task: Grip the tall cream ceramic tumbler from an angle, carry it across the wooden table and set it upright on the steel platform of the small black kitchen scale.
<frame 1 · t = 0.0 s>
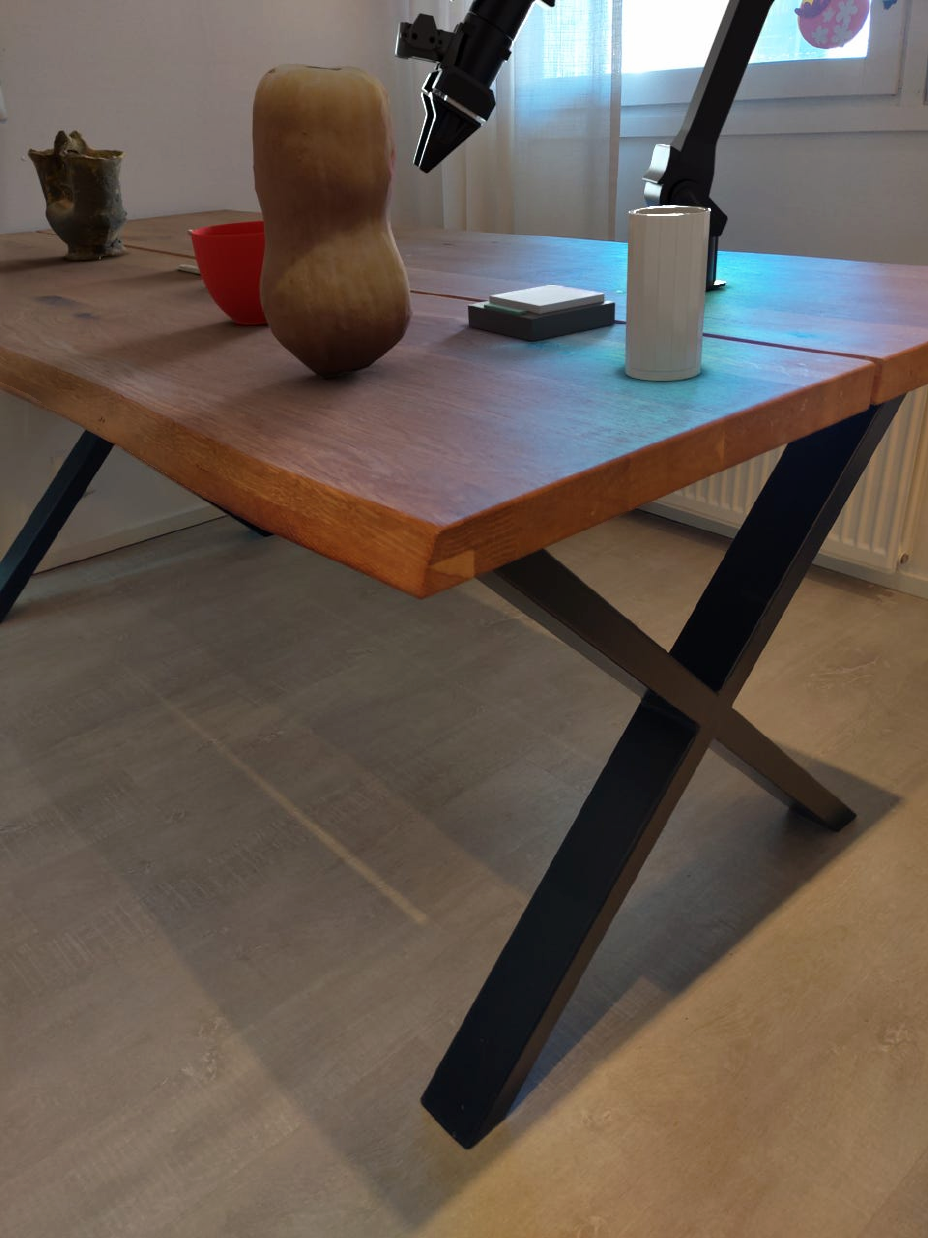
hand: (419, 168, 112), 15 cm above the table, tool tilted 35°, fingers open, 9 cm apart
pottery vessel: (94, 257, 175), on the table
butternut squash: (342, 373, 93), on the table
scale: (540, 324, 107), on the table
ceramic cup: (253, 318, 118), on the table
tumbler: (662, 371, 87), on the table
tableware set: (274, 270, 151), on the table
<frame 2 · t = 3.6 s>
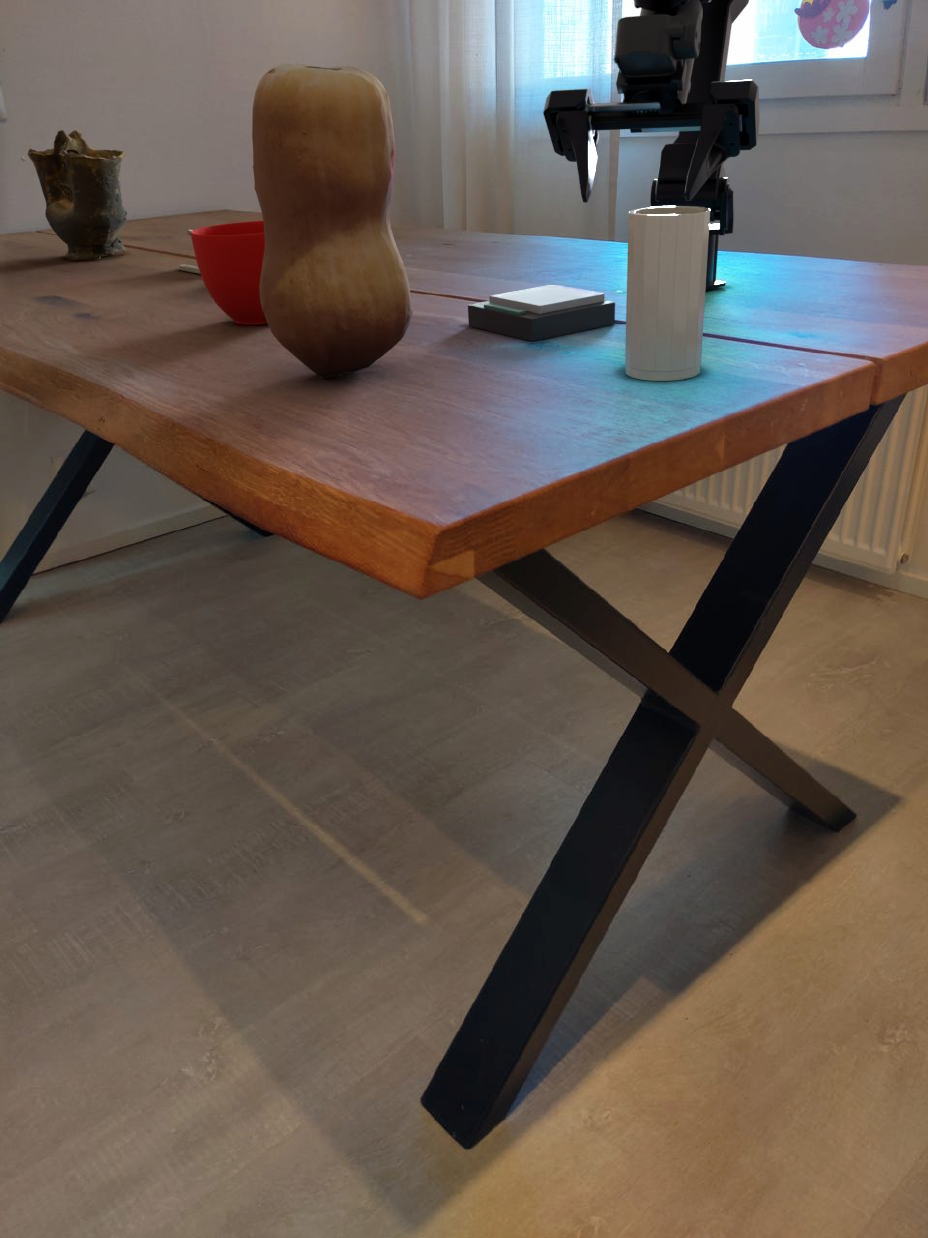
hand: (634, 198, 89), 13 cm above the table, tool tilted 45°, fingers open, 9 cm apart
nothing on the table moved.
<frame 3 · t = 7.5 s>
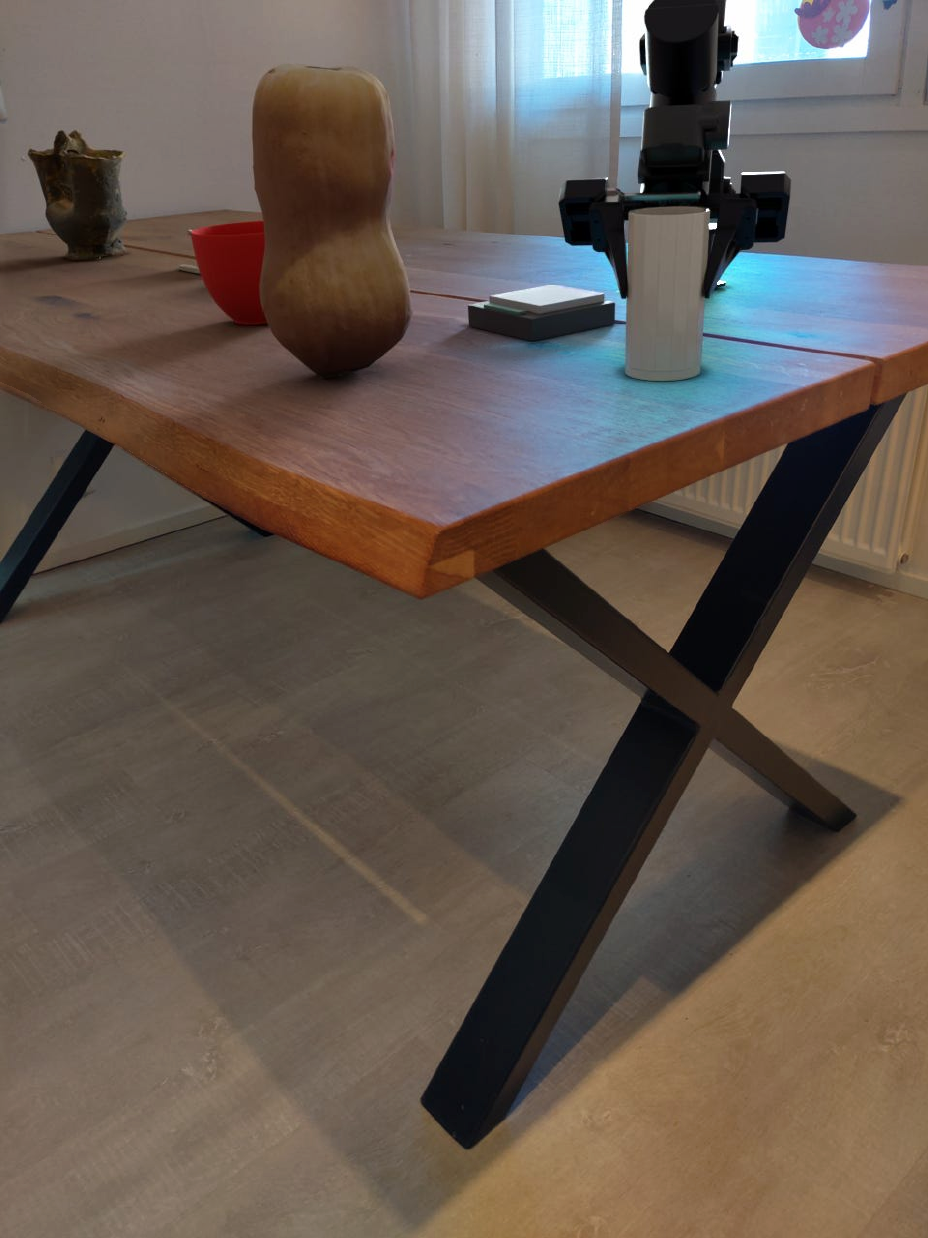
hand: (664, 295, 83), 7 cm above the table, tool tilted 45°, fingers closed on tumbler, 6 cm apart
tumbler: (662, 371, 87), on the table, touching gripper
everything else where it was.
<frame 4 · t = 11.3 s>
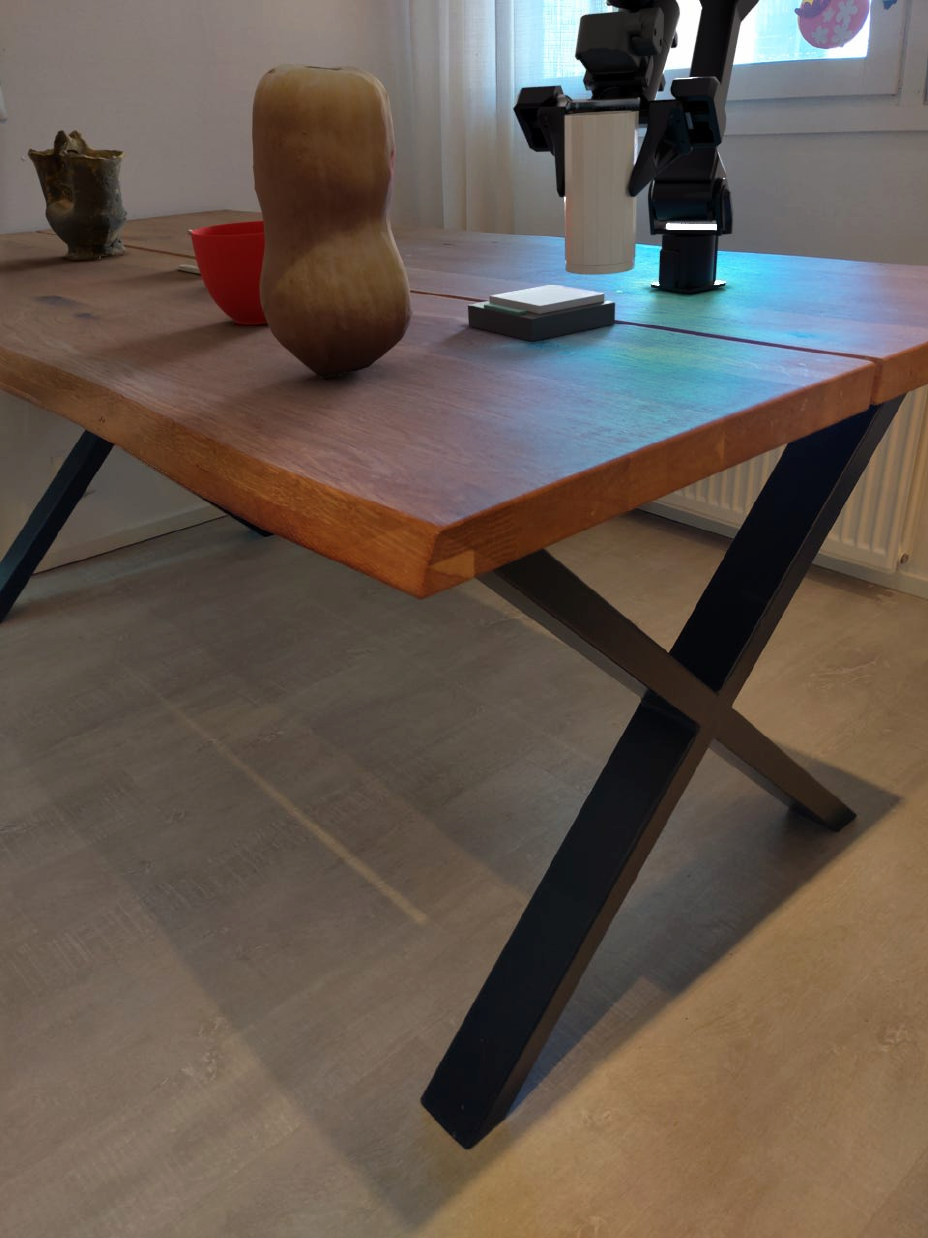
hand: (594, 193, 90), 14 cm above the table, tool tilted 45°, fingers closed on tumbler, 6 cm apart
tumbler: (599, 268, 94), point 7 cm above the table, touching gripper
everything else where it was.
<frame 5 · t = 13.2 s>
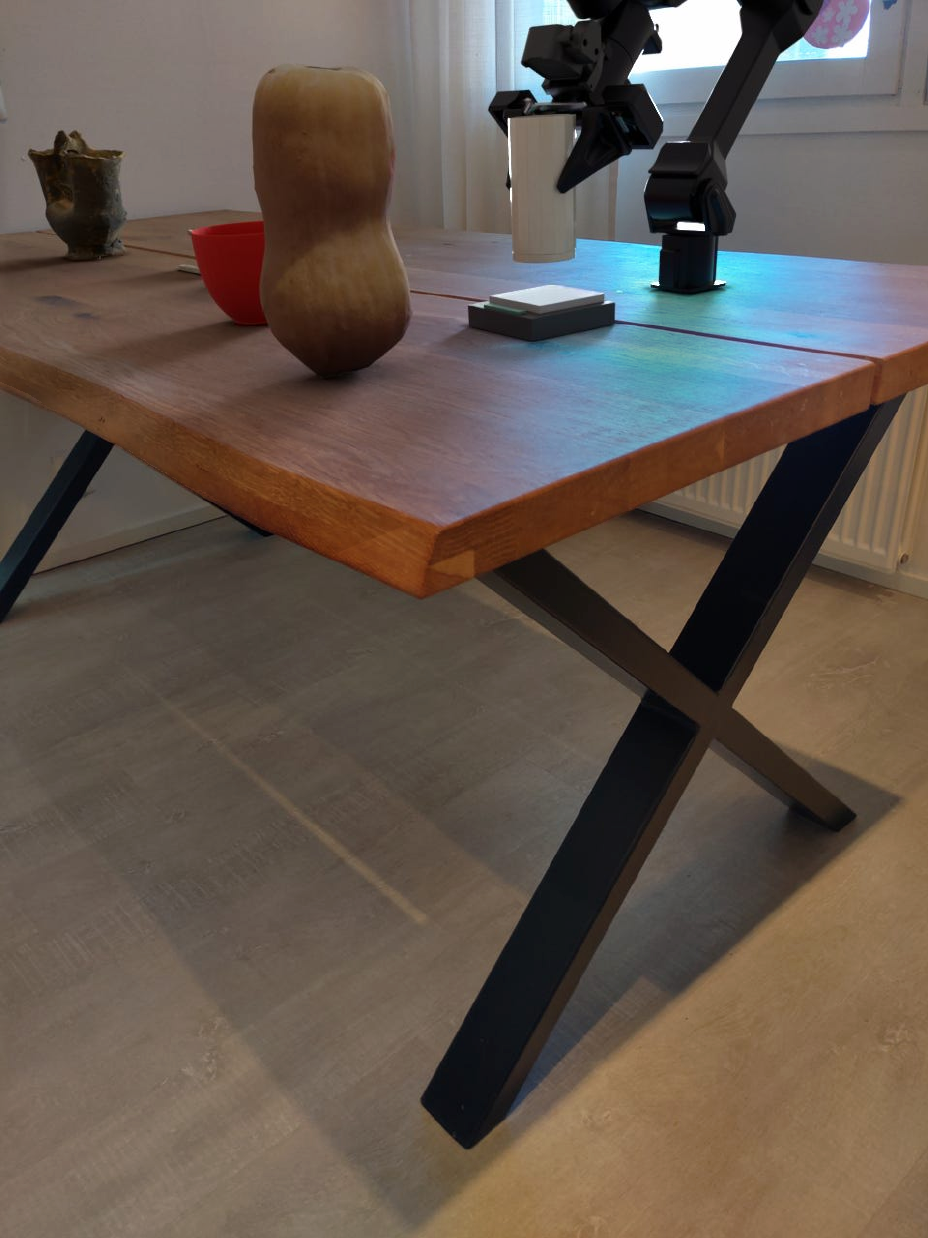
hand: (533, 189, 99), 13 cm above the table, tool tilted 45°, fingers closed on tumbler, 6 cm apart
tumbler: (544, 258, 103), point 7 cm above the table, touching gripper
everything else where it was.
when the fingers open (10 cm above the table, at t = 15.2 s): tumbler stays where it is, resting on scale.
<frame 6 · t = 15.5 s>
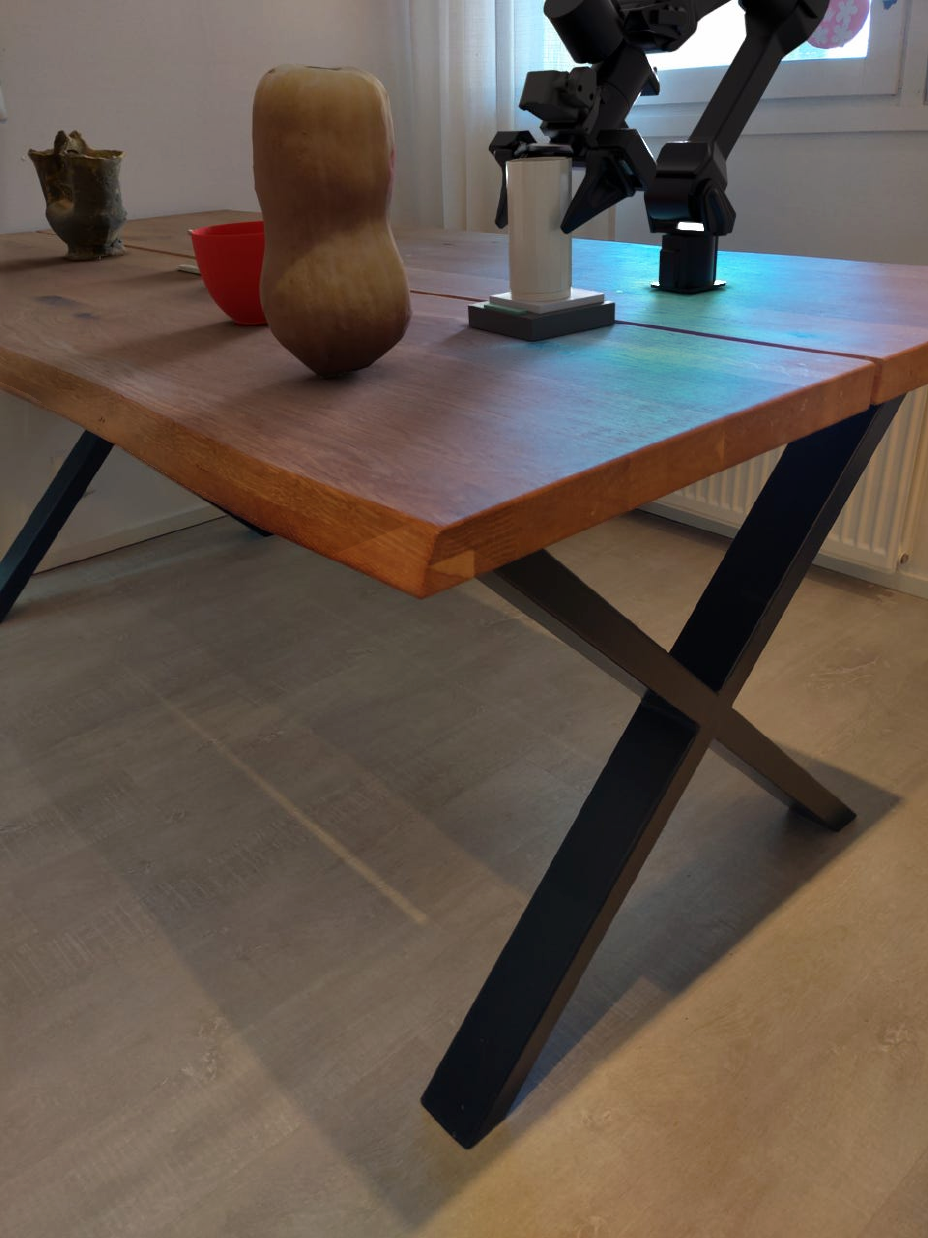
hand: (529, 228, 101), 10 cm above the table, tool tilted 45°, fingers open, 9 cm apart
tumbler: (540, 295, 105), point 3 cm above the table, touching scale
everything else where it was.
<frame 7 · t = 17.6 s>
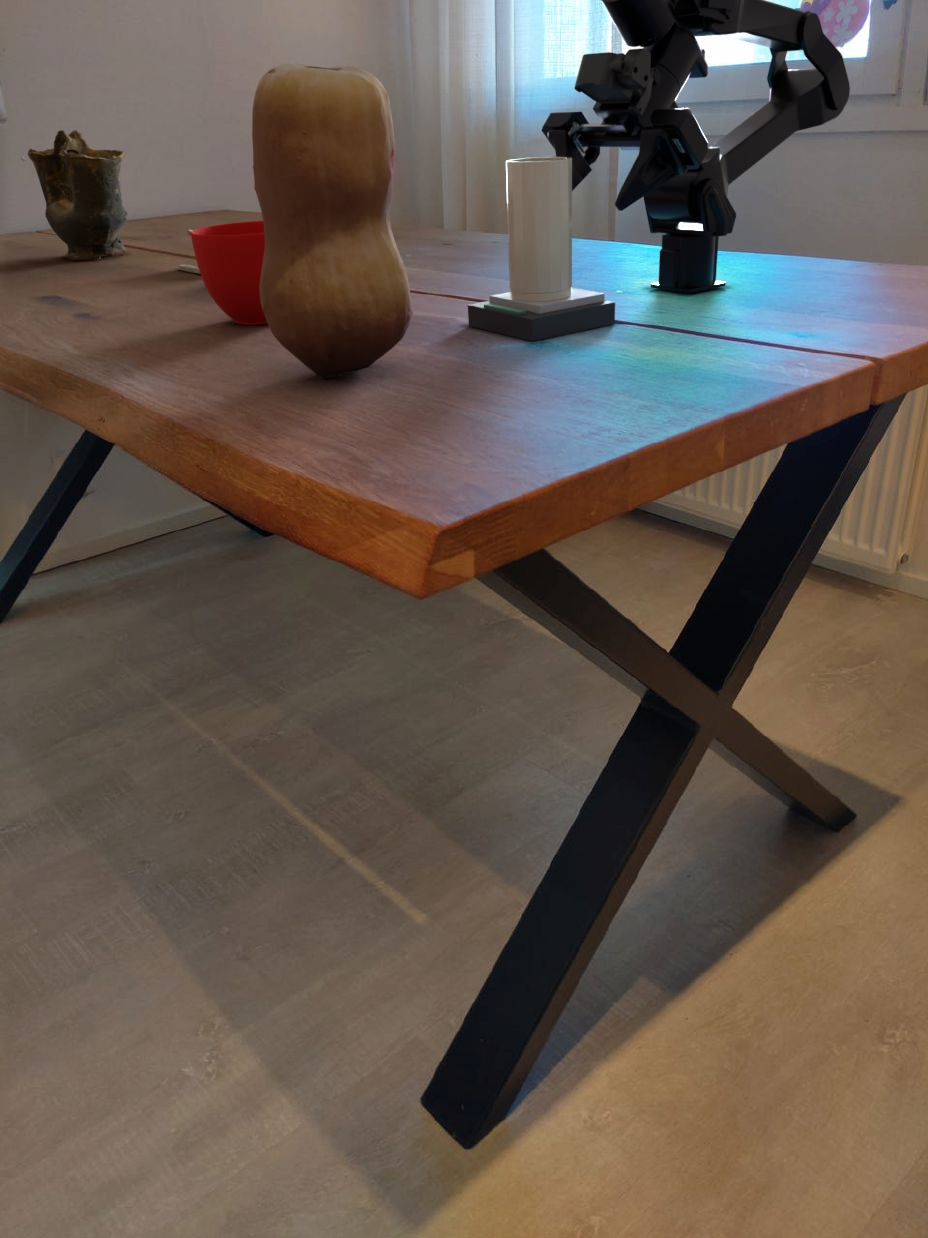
hand: (583, 205, 105), 11 cm above the table, tool tilted 45°, fingers open, 9 cm apart
nothing on the table moved.
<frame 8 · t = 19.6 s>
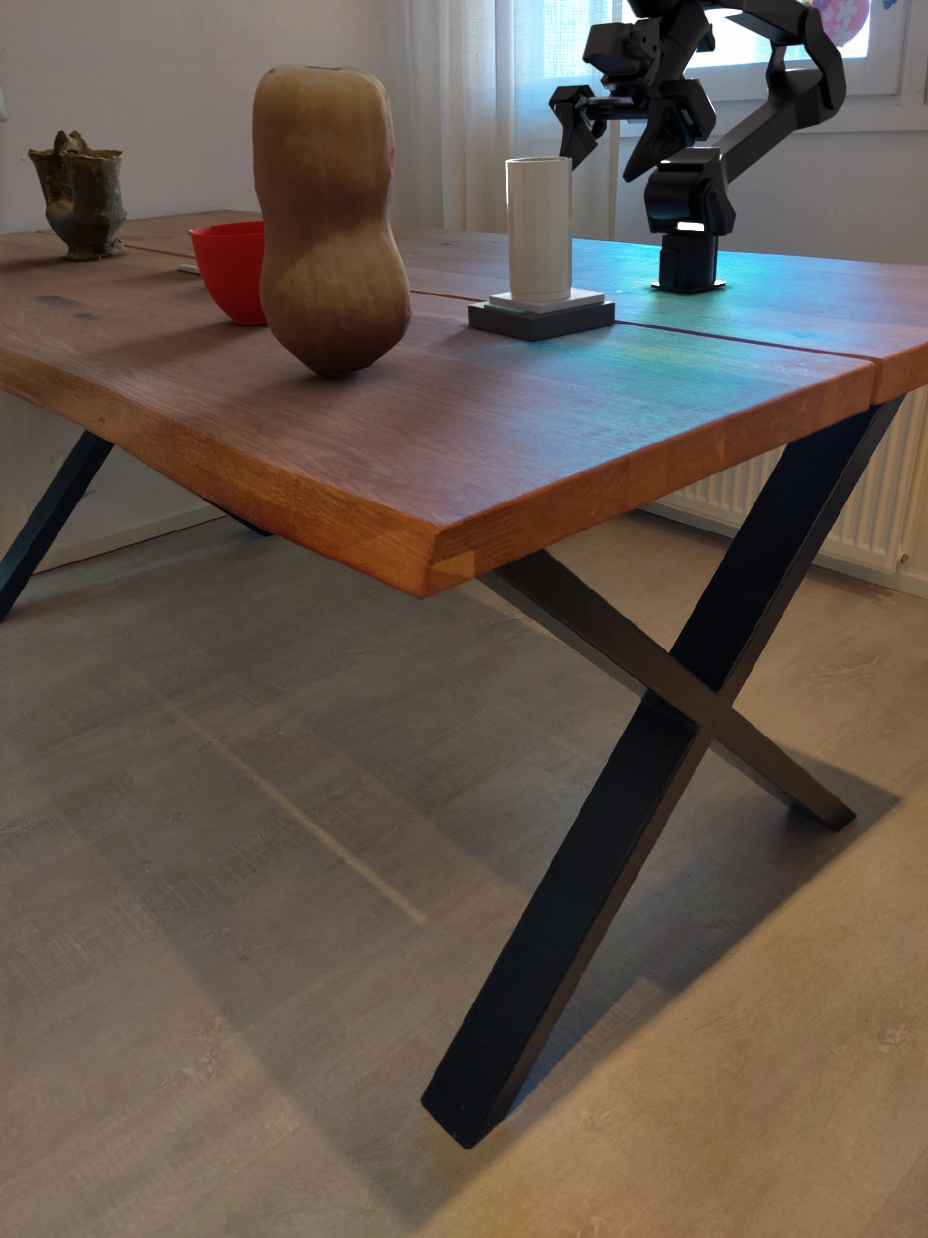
hand: (591, 178, 104), 14 cm above the table, tool tilted 45°, fingers open, 9 cm apart
nothing on the table moved.
at the end: tumbler inside the target area on the scale (0.5 cm from its centre), point 3.0 cm above the scale's base; tumbler tilted 0°; the gripper is holding nothing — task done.
